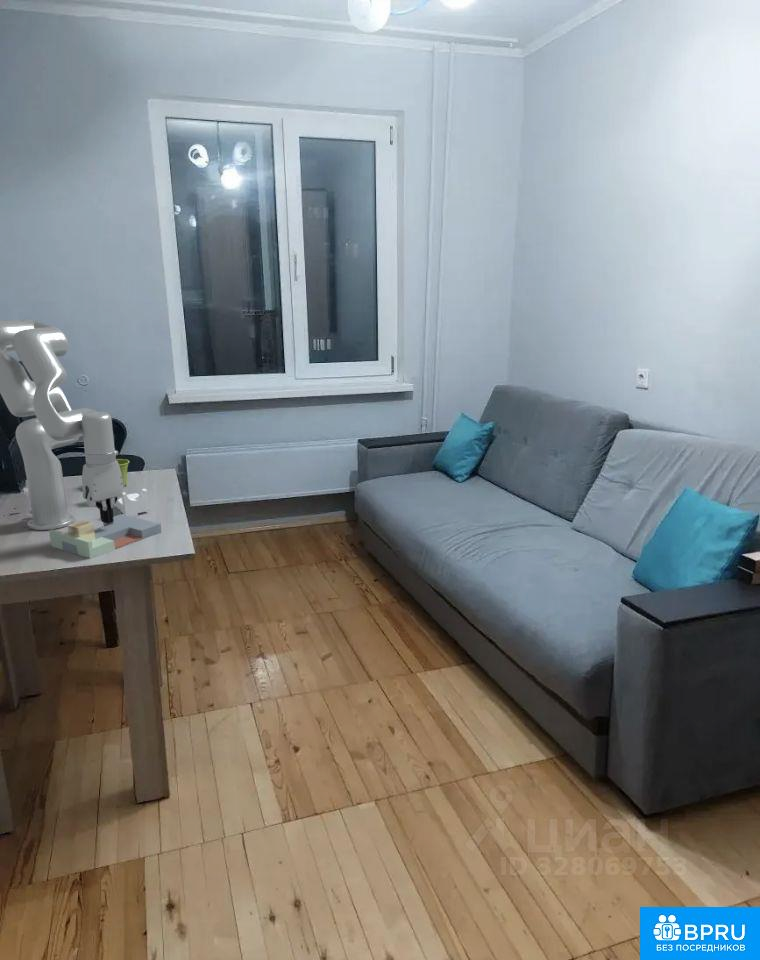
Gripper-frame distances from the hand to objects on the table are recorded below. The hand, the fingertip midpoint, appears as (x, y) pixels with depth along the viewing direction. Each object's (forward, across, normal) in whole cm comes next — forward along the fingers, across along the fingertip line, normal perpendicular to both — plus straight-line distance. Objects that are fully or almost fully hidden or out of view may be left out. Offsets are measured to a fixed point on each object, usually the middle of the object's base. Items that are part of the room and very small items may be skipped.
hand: (107, 521), depth 191 cm
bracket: (+5, -19, -15) cm, 25 cm away
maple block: (+2, +9, +2) cm, 10 cm away
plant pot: (+6, -34, -42) cm, 54 cm away
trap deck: (+5, +1, +1) cm, 5 cm away
